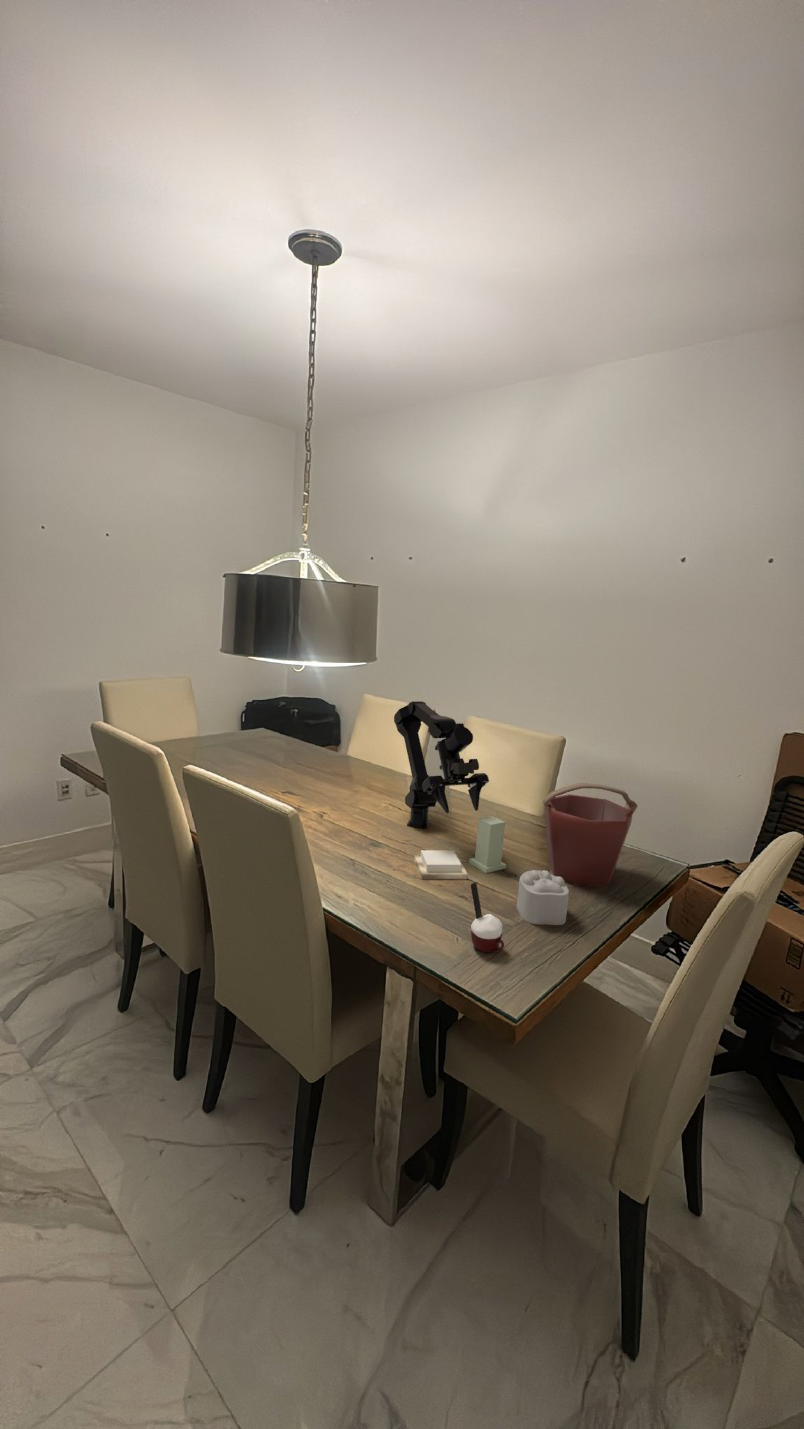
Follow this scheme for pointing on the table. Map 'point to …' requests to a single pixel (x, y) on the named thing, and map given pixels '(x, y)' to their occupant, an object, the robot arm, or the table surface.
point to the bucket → (585, 834)
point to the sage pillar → (489, 845)
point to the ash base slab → (438, 875)
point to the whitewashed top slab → (440, 861)
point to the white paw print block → (542, 898)
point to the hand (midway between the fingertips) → (462, 811)
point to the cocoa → (485, 927)
